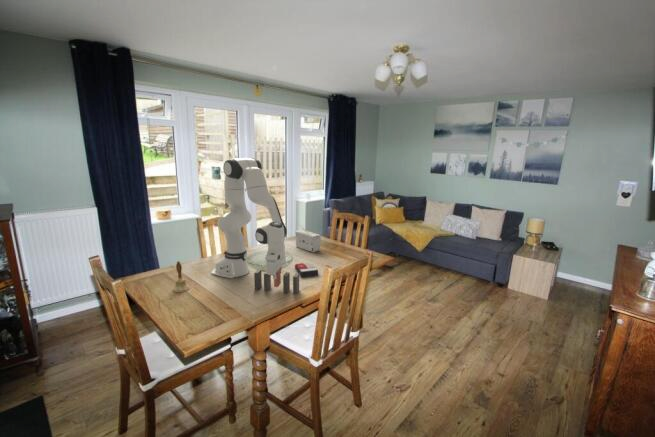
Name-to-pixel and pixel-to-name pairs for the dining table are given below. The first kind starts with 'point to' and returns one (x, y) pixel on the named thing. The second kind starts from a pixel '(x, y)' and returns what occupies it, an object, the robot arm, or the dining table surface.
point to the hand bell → (180, 280)
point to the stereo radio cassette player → (308, 240)
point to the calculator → (306, 269)
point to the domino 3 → (278, 280)
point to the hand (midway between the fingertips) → (277, 276)
